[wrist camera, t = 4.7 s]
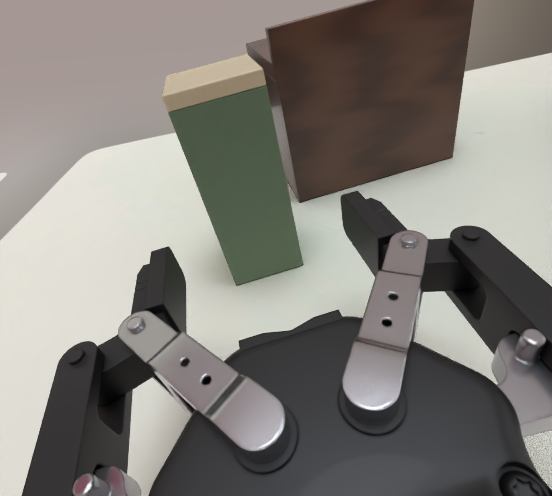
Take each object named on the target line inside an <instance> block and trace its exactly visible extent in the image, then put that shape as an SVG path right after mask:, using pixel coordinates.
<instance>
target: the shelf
mask: <svg viewBox="0 0 552 496" xmlns="http://www.w3.org/2000/svg"><path fill="white" fill-rule="evenodd" d="M473 5H474V0H368V1H364V2H361V3H357V4H353V5H349V6H346V7H342V8H338V9H334V10H331V11H327V12H323V13H320V14H316V15H312V16H309V17H305V18H301V19H297V20H294V21H290V22H286V23H283V24H279V25H275V26H271V27H268V28H266V29H265V30H266V35H267V38H266V39H262V40H258V41H255V42H251V43H247V44H246V47H247V52H248V55H249V56H250V57H251V58H252V59H253V60H254V61H255V62H256V63H257V64H258V65H260V66H261V67H262V68H263V71H264V76H265V80H266V86H267V90H268V95H269V100H270V105H271V109H272V114H273V119H274V124H275V129H276V134H277V139H278V144H279V149H280V154H281V159H282V163H283V168H284V173H285V178H286V179H287V181H288V183H289V185H290V187H291V188H292V190H293V192H294V194H295V196H296V197H297V199H298V201H299V202H302V201H305V200H309V199H312V198H316V197H319V196H322V195H326V194H329V193H332V192H336V191H339V190H343V189H346V188H349V187H353V186H356V185H359V184H363V183H366V182H370V181H373V180H376V179H380V178H383V177H387V176H390V175H393V174H397V173H400V172H403V171H407V170H410V169H414V168H417V167H420V166H424V165H427V164H430V163H434V162H437V161H441V160H444V159H447V158H451V157H453V150H454V142H455V135H456V128H457V121H458V114H459V106H460V99H461V92H462V85H463V77H464V70H465V62H466V55H467V48H468V41H469V34H470V27H471V19H472V11H473Z"/></svg>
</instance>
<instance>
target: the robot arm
mask: <svg viewBox="0 0 552 496" xmlns="http://www.w3.org/2000/svg"><path fill="white" fill-rule="evenodd" d="M341 209H342V220H343V227H344V230H345V233H346V235H347V236H348V238H349V239H350V241H351V242H352V244H353V245H354V247H355V248H356V250H357V251H358V253H359V254H360V255H361V257H362V258H363V260H364V261H365V263H366V264H367V266H368V267H369V269H370V270H371V272H372V273H373V274H374V276H375V281H374V284H373V287H372V290H371V294H370V297H369V300H368V303H367V307H366V310H365V313H364V316H363V318H359V317H347V316H346V317H342V316H341V314H340V312H339V310H335V311H332V312H329V313H326V314H323V315H319V316H316V317H314V318H312V319H310V320H308V321H307V322H305V323H303V324H301V325H300V326H298V327H296V328H294V329H293V330H290V331H281V332H270V333H262V334H259V335H256V336H253V337H249V338H246V339H243V340H240V341H239V347H240V349H239V350H237V351H236V352H234V353H233V354H232V355H230V356H229V357H228V358H227V359H226V360H225V361H224V362H223V361H222V360H221V359H219V358H218V357H217V356H215V355H214V354H213V353H211V352H210V351H209V350H207V349H206V348H205V347H203V346H202V345H201V344H199V343H198V342H197V341H195V340H194V339H193V338H191V337H190V336H189V335H187V334H186V281H185V277H184V274H183V272H182V270H181V268H180V266H179V264H178V262H177V260H176V258H175V256H174V254H173V252H172V250H171V249H170V248H169V247H165V248H162V249H158V250H155V251H152V252H151V258H150V264H147V265H144V266H143V267H142V268H141V270H140V272H139V273H138V275H137V281H136V284H137V285H136V287H135V293H134V299H133V305H132V311H131V315H130V316H129V317H127V318H126V319H125V320H124V321H123V322H122V324H121V325H120V327H119V330H118V335H116V336H115V337H113V338H112V339H110V340H108V341H106V342H105V343H103V344H101V345H99V346H98V347H97V346H96V344H95V343H93V342H90V341H86V342H81V343H79V344H77V345H75V346H73V347H72V348H70V349H69V350H68V351H67V352H66V353H65V354H64V355H63V356H62V358H61V359H60V361H59V363H58V366H57V370H56V373H55V377H54V381H53V384H52V388H51V391H50V395H49V399H48V402H47V406H46V410H45V413H44V417H43V420H42V424H41V428H40V431H39V435H38V439H37V442H36V446H35V450H34V453H33V457H32V460H31V464H30V468H29V471H28V475H27V479H26V482H25V486H24V489H23V493H22V496H141V489H140V486H139V484H138V483H137V482H136V481H135V480H134V479H132V478H131V477H130V476H128V475H127V468H128V452H129V437H130V421H131V405H132V390H133V389H134V388H136V387H137V386H139V385H141V384H142V383H144V382H145V381H147V380H149V379H150V378H153V379H154V380H155V381H156V382H157V383H158V384H160V385H161V386H162V387H163V388H164V389H165V390H166V391H167V392H168V393H169V394H170V395H171V396H172V397H173V398H174V399H175V400H176V401H177V402H178V403H179V404H180V405H181V406H182V407H183V409H184V410H185V411H186V412H187V413H188V414H189V415H190V416H191V417H190V419H189V421H188V423H187V424H186V426H185V428H184V430H183V431H182V433H181V435H180V437H179V439H178V440H177V442H176V444H175V446H174V447H173V449H172V451H171V453H170V454H169V456H168V458H167V460H166V461H165V463H164V465H163V467H162V468H161V470H160V472H159V474H158V476H157V477H156V479H155V481H154V483H153V485H152V488H151V490H150V493H149V496H552V490H551V489H550V488H549V487H548V486H547V484H546V483H545V482H544V481H543V479H542V478H541V477H540V475H539V474H538V472H537V470H536V469H535V467H534V465H533V463H532V461H531V459H530V457H529V454H528V452H527V449H526V447H525V444H524V440H523V437H527V436H531V435H534V434H538V433H542V432H546V431H550V430H552V287H551V286H550V285H549V284H548V283H547V282H546V281H544V280H543V279H542V278H541V277H540V276H539V275H538V274H536V273H535V272H534V271H533V270H532V269H531V268H529V267H528V266H527V265H526V264H525V263H524V262H522V261H521V260H520V259H519V258H518V257H517V256H516V255H514V254H513V253H512V252H511V251H510V250H509V249H507V248H506V247H505V246H504V245H503V244H502V243H501V242H499V241H498V240H497V239H496V238H495V237H494V236H492V235H491V234H490V233H489V232H488V231H486V230H485V229H482V228H480V227H476V226H461V227H458V228H455V229H454V230H453V231H452V232H451V234H450V238H446V239H427V237H426V236H425V235H423V234H422V233H419V232H417V231H411V230H407V229H406V228H405V227H404V226H403V225H402V224H401V223H400V222H399V221H398V219H397V218H396V217H395V216H394V215H392V213H391V212H390V211H389V210H387V208H386V207H385V206H384V205H383V204H382V203H381V202H379V201H377V200H375V199H373V198H369V199H365V198H364V197H363V196H362V195H361V194H360V193H359V192H358V191H355V192H351V193H348V194H345V195H342V196H341ZM433 291H445V292H446V294H447V295H448V296H449V298H450V299H451V300H452V301H453V303H454V304H455V305H456V307H457V308H458V309H459V310H460V312H461V313H462V314H463V315H464V317H465V318H466V319H467V321H468V322H469V323H470V324H471V326H472V327H473V328H474V330H475V331H476V332H477V333H478V335H479V336H480V337H481V338H482V340H483V341H484V342H485V344H486V345H487V346H488V347H489V349H490V350H491V351H492V353H493V354H494V358H493V361H492V364H491V368H492V372H493V374H494V376H495V378H496V380H497V382H498V385H496V384H495V383H493V382H492V381H491V380H490V379H488V378H487V377H485V376H484V375H482V374H480V373H478V372H476V371H474V370H472V369H470V368H468V367H466V366H464V365H462V364H460V363H458V362H456V361H453V360H451V359H449V358H447V357H445V356H443V355H441V354H439V353H437V352H435V351H433V350H431V349H428V348H426V347H424V346H422V345H420V344H418V343H416V342H415V338H416V331H417V324H418V318H419V312H420V306H421V300H422V294H423V292H433Z"/></svg>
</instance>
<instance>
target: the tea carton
mask: <svg viewBox="0 0 552 496" xmlns="http://www.w3.org/2000/svg"><path fill="white" fill-rule="evenodd" d="M162 98H163V101H164V103H165V106H166V108H167V110H168V112H169V116H170V118H171V121H172V123H173V126H174V129H175V131H176V134H177V136H178V139H179V141H180V144H181V146H182V149H183V152H184V154H185V157H186V159H187V162H188V164H189V167H190V169H191V172H192V174H193V177H194V179H195V182H196V184H197V187H198V190H199V192H200V195H201V197H202V200H203V202H204V205H205V207H206V210H207V212H208V215H209V217H210V220H211V222H212V225H213V228H214V230H215V233H216V235H217V238H218V240H219V243H220V245H221V248H222V250H223V253H224V255H225V258H226V260H227V263H228V266H229V268H230V271H231V273H232V276H233V278H234V281H235V283H236V285H240V284H243V283H246V282H249V281H253V280H256V279H259V278H262V277H266V276H269V275H272V274H276V273H279V272H282V271H285V270H289V269H292V268H295V267H299V266H302V265H303V262H302V257H301V252H300V247H299V242H298V237H297V232H296V227H295V222H294V217H293V212H292V208H291V203H290V198H289V193H288V188H287V183H286V178H285V173H284V168H283V163H282V159H281V154H280V149H279V144H278V139H277V134H276V129H275V124H274V119H273V114H272V109H271V105H270V100H269V95H268V90H267V86H266V80H265V76H264V71H263V68H262V67H261V66H260V65H258V64H257V63H256V62H255V61H254V60H253V59H252V58H251V57H250V56H249V55H247V54H246V55H242V56H238V57H235V58H231V59H227V60H224V61H220V62H217V63H213V64H209V65H205V66H202V67H198V68H194V69H191V70H187V71H183V72H180V73H176V74H172V75H169V76H167V77H166V81H165V85H164V90H163V94H162Z"/></svg>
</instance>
